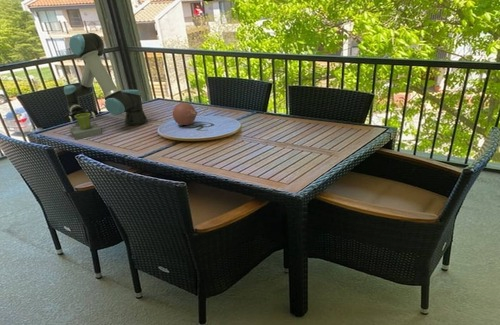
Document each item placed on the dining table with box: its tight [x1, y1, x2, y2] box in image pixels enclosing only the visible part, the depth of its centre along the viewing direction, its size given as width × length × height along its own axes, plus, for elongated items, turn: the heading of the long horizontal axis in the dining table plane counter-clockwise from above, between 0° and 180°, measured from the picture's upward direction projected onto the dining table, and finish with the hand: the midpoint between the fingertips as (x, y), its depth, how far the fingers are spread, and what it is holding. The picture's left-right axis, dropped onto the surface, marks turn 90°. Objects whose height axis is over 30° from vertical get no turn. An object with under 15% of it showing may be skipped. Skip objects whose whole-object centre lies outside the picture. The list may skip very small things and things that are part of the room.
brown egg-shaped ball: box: [172, 102, 198, 126], centre depth 233 cm, size 15×20×15 cm
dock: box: [69, 122, 102, 141], centre depth 228 cm, size 16×14×4 cm
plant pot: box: [74, 113, 92, 129], centre depth 226 cm, size 9×9×9 cm
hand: (83, 118), depth 222 cm, fingers open, 13 cm apart
